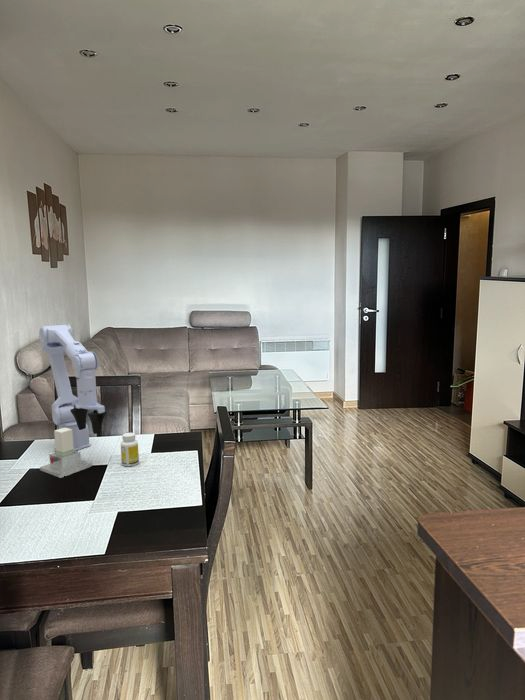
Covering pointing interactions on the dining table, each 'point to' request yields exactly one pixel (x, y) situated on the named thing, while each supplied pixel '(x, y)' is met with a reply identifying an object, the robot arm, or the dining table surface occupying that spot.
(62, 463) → the stand
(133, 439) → the supplement bottle
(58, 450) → the rectangular block
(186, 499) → the dining table surface
